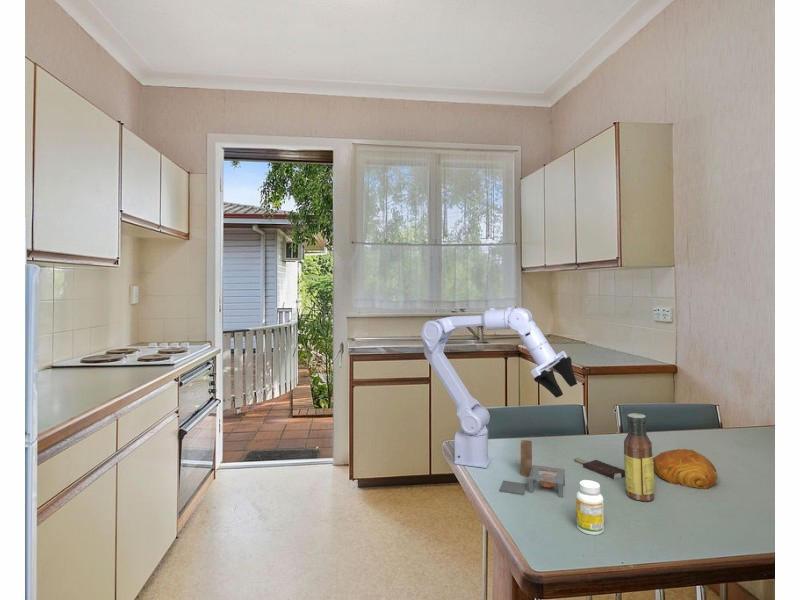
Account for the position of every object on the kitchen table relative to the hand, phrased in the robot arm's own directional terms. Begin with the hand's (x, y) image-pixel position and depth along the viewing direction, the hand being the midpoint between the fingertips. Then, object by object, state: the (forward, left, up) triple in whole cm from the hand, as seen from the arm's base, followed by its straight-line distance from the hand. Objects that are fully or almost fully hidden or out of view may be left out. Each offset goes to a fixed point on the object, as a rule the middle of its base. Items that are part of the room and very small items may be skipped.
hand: (567, 390), depth 121 cm
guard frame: (-4, -9, -23) cm, 25 cm away
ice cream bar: (+8, +9, -24) cm, 27 cm away
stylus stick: (-10, -2, -23) cm, 26 cm away
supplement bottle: (+6, -26, -24) cm, 35 cm away
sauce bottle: (+17, -6, -24) cm, 29 cm away
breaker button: (-4, -9, -23) cm, 25 cm away
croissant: (+29, +11, -24) cm, 39 cm away
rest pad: (-12, -12, -23) cm, 29 cm away
